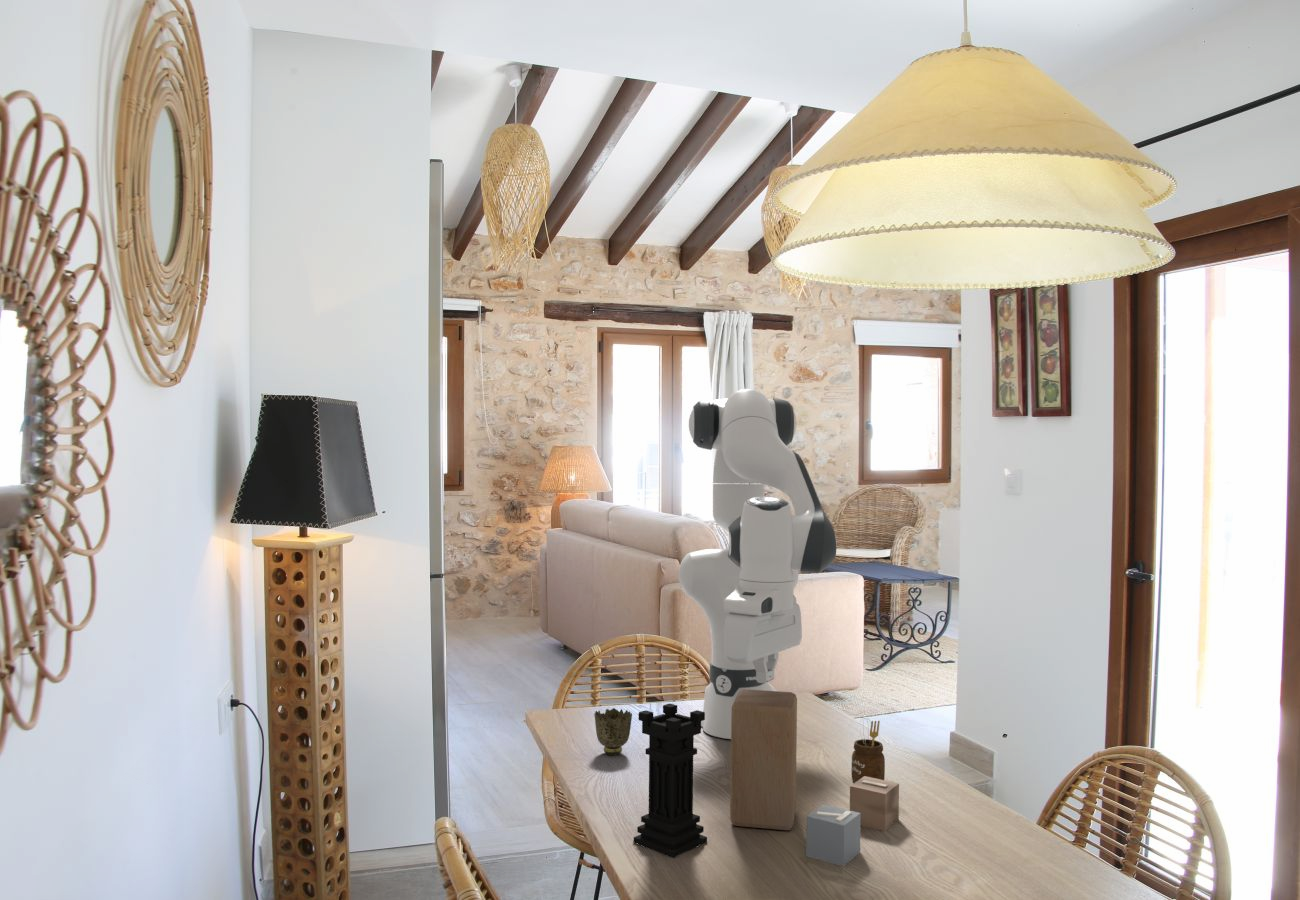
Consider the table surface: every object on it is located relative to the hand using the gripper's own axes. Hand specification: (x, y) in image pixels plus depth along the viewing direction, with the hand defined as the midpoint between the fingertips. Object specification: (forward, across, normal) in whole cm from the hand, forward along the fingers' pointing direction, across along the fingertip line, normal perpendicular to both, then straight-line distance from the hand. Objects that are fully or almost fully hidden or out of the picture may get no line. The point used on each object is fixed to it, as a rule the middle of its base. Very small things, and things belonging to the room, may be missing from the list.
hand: (765, 681), depth 159 cm
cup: (+22, -12, -40) cm, 48 cm away
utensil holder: (+23, -27, +7) cm, 36 cm away
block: (+23, 0, 0) cm, 23 cm away
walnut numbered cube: (+23, -10, +15) cm, 29 cm away
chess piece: (+23, +17, -7) cm, 29 cm away
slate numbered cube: (+23, +6, +15) cm, 28 cm away
